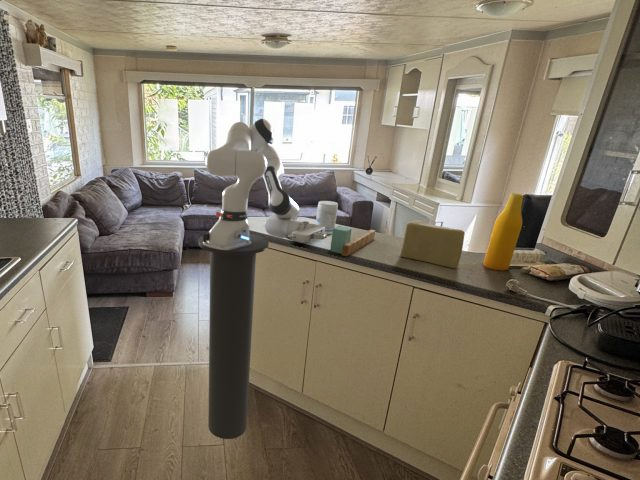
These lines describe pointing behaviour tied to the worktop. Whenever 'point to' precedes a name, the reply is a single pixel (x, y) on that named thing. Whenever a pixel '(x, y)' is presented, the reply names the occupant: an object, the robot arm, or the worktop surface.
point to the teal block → (340, 238)
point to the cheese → (432, 244)
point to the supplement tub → (327, 215)
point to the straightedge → (358, 242)
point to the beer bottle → (505, 235)
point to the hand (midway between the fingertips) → (325, 236)
